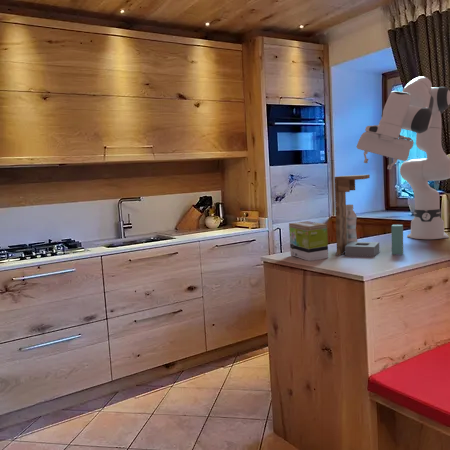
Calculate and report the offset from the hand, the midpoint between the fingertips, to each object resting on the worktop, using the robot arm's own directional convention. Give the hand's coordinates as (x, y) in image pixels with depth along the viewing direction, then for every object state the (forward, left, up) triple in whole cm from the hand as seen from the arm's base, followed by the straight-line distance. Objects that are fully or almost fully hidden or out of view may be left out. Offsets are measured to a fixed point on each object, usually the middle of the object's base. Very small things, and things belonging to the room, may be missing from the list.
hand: (377, 166), depth 184 cm
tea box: (+6, -28, -37) cm, 47 cm away
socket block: (-6, -8, -37) cm, 38 cm away
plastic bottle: (-18, -16, -37) cm, 44 cm away
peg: (-8, +6, -37) cm, 38 cm away
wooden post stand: (-6, -11, -37) cm, 39 cm away
